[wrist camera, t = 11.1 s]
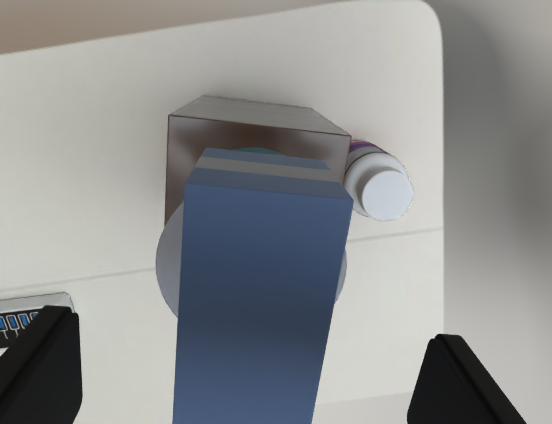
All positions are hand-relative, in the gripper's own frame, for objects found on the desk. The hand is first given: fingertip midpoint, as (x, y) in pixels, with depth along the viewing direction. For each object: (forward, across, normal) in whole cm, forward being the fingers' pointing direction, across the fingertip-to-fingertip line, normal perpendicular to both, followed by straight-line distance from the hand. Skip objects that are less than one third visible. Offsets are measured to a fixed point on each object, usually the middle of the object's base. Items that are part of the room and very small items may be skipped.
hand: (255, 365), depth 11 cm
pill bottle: (+30, -10, +1) cm, 31 cm away
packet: (+6, 0, +1) cm, 6 cm away
